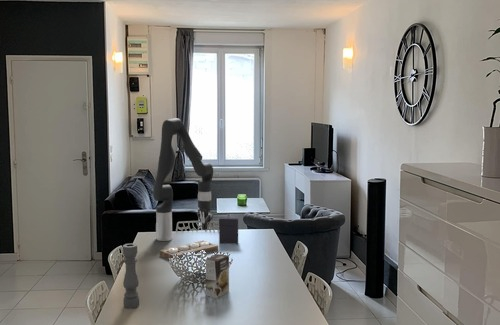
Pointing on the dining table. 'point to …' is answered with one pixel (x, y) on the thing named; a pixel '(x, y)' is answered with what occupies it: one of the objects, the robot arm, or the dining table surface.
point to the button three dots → (194, 245)
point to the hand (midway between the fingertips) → (204, 229)
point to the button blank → (184, 248)
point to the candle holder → (130, 277)
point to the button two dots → (173, 250)
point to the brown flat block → (207, 249)
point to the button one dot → (204, 244)
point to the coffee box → (217, 275)
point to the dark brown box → (228, 230)
